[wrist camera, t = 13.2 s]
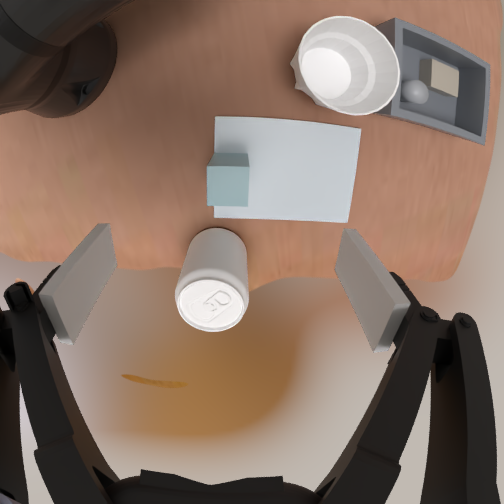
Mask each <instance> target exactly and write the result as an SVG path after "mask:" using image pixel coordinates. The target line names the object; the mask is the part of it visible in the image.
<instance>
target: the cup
mask: <svg viewBox="0 0 504 504" xmlns="http://www.w3.org/2000/svg"><path fill="white" fill-rule="evenodd" d="M290 65H291V66H292V68H293V69H294V73H295V78H296V84H295V88H294V89H298V90H302V91H303V92H305V93H306V94H307V95H309V96H310V97H311V98H312V99H313V101H314V102H315V104H316V105H319V106H323V107H326V108H329V109H332V110H335V111H338V112H340V113H345V114H350V115H368V114H371V113H374V112H377V111H379V110H380V109H382V108H383V107H384V106H386V105H387V104H388V103H389V102H390V101H391V99H392V98H393V97H394V95H395V93H396V91H397V88H398V85H399V78H400V68H399V62H398V58H397V56H396V53H395V51H394V49H393V47H392V45H391V44H390V43H389V41H388V40H387V38H386V37H385V36H384V35H383V34H382V33H381V32H380V31H378V30H377V29H376V28H375V27H374V26H372V25H370V24H368V23H366V22H365V21H363V20H360V19H356V18H353V17H349V16H334V17H330V18H325V19H323V20H321V21H319V22H317V23H316V24H314V25H312V27H311V28H310V29H309V30H308V31H307V32H306V33H305V34H304V36H303V39H302V41H301V43H300V45H299V47H298V49H297V51H296V53H295V56H294V57H293V59H292V61H291V62H290Z"/></svg>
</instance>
